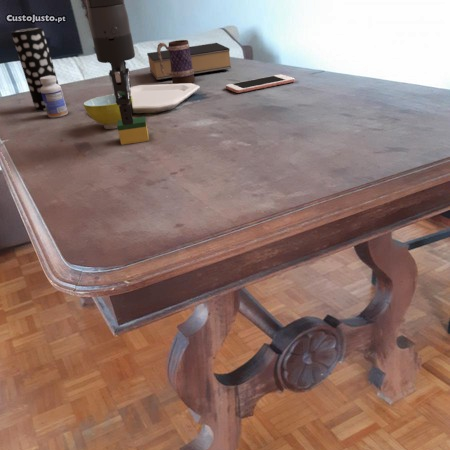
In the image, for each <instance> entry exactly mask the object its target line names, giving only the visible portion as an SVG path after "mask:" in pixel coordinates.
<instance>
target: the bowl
mask: <svg viewBox="0 0 450 450" xmlns="http://www.w3.org/2000/svg"><path fill="white" fill-rule="evenodd" d="M130 96H131V95H130ZM120 97H121V96H119V98H120ZM131 101H132V105H133V99H132V96H131ZM83 107H84V110H85V112H86V113H87V114H88V116H89V117H90V118H91V119H92V120H93V121H95V122H96V123H98V124H101V125H103V127H104V129H106V130H113V129H118V128H117V122H118V120H122V119H121V114H120V109H119V106H118V105H117V103H116V97H115V95H112V94H107V95H101V96H97V97H93V98H90V99H88V100H86V101H84V102H83Z"/></svg>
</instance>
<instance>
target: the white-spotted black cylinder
mask: <svg viewBox="0 0 450 450" xmlns="http://www.w3.org/2000/svg"><path fill="white" fill-rule="evenodd" d="M10 34H11V37H12V40H13V43H14V47H15V50H16V52H17V56H18V59H19V62H20V65H21V68H22V71H23V75H24V77H25V81H26V83H27V86H28V90H29V93H30V96H31V99H32V102H33V105H34V109H35V111H38V112H47V111H46V107H45V104H44V101H43V97H42V94H41V90H40V89H41V87H42V86H43V85H42V84H41V81H40V78H41V77H45V76H55V77H56V80H57V82H56V84H58V85H60V84H59V81H58V77H57V73H56V71H55V67H54V64H53V60H52V57H51V52H50V48H49V46H48V42H47V38H46V35H45V32H44V28H43V27H41V26H40V27H39V26H37V27H29V28H21V29H16V30H12V31H10Z"/></svg>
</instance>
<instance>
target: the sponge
mask: <svg viewBox="0 0 450 450" xmlns="http://www.w3.org/2000/svg"><path fill="white" fill-rule="evenodd" d="M132 118H133V124H131V125H123V123H122V120H118V122H117V128H116V129H117V133H118V137H119V141H120V145H121V146H123V145H130V144H136V143H144V142H149V141H150V138H149V130H148V126H147V125H148V124H147V120H146V116H140V117H132Z"/></svg>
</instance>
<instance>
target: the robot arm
mask: <svg viewBox="0 0 450 450" xmlns="http://www.w3.org/2000/svg"><path fill="white" fill-rule="evenodd" d="M85 3H86V7H87V15H88V16H87V17H88V24H89V28H90V33H91V39H92V41H93V42H92V43H93V47H94V51H95V56H96V60H97V61H98V62H99V63H102V64H107V63H109V64H110V66H111V69H110V70H109V72H108V77H109V80H110V82H111V88H112V94H114V95H115V97H116V103H117V105H118V106H119V109H120V114H121V119H122V123H123V125H131V124H133V118H134V117H133V114H134V113H133V106H132V101H131V96H130V95H131V90H130V88H131V87H132V82H131V72H130V68H129V67H127V62H126V61H130V60H132V59H134V58H135V57H136V53H135V48H134V41H133V36H132V31H131V25H130V19H129V14H128V12H127V7H126V4H125V0H85ZM119 96H121V97H120V98H119Z"/></svg>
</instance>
